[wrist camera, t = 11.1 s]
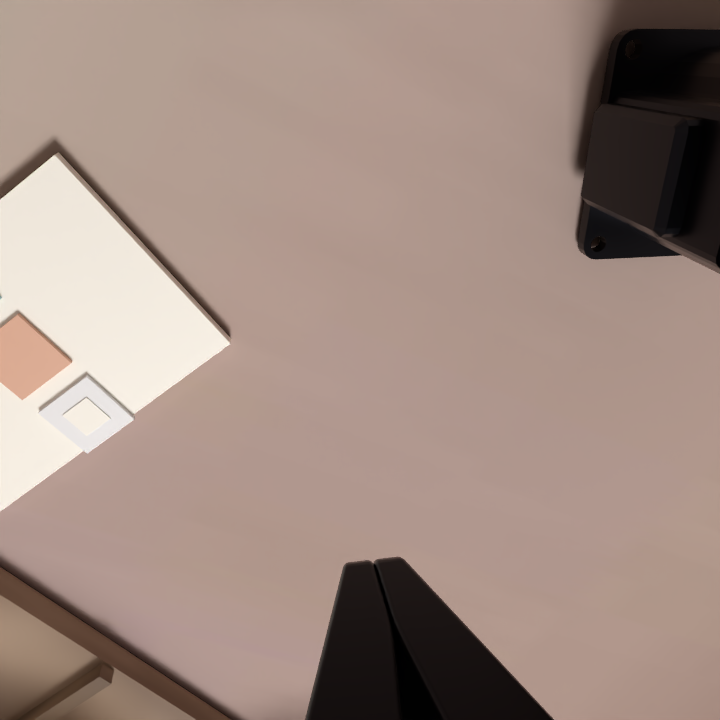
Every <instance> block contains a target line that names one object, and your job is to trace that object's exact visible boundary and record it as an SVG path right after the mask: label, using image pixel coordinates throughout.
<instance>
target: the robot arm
mask: <svg viewBox="0 0 720 720" xmlns="http://www.w3.org/2000/svg"><path fill="white" fill-rule="evenodd" d="M631 40H632V41H633V43H634V45H635V50H634V52H633V55H632V56H630V57H629V58H627V56H626V55H625V48H626V46H627V44H628V43H629V42H630V41H631ZM581 196H582V198H583V199H584V200H585V201H584V207H583V213H582V219H581V225H580V231H579V237H578V248H579V250H580V252H581V253H583V254H584V255H586V256H587V257H589V258H591V259H614V258H635V257H656V256H677V255H683V256H685V257H687V258H689V259H691V260H693V261H695V262H697V263H699V264H701V265H703V266H705V267H707V268H709V269H711V270H713V271H715V272H717V273H719V274H720V30H696V29H628V30H624V31H622V32H620V33H619V34H618V35H616V37H615V38H614V40H613V41H612V43H611V46H610V50H609V56H608V62H607V68H606V74H605V80H604V86H603V92H602V98H601V104H600V107H599V108H598V109H597V110H596V111H595V113H594V118H593V124H592V130H591V136H590V143H589V149H588V155H587V161H586V167H585V173H584V180H583V186H582V192H581ZM598 236H600V241H599V244H598V245H597V246H596V247H594V248H591V243H592V241H593V239H595V238H596V237H598ZM305 720H554V719H553V718H552V717H551V716H550V715H549V714H548V713H547V712H546V711H545V709H544V708H543V707H542V706H541V705H540V704H539V703H538V702H537V701H536V700H535V699H534V698H533V697H532V696H531V695H530V693H529V692H528V691H527V690H526V689H525V688H524V687H523V686H522V685H521V684H520V683H519V682H518V681H517V680H516V678H515V677H514V676H513V675H512V674H511V673H510V672H509V671H508V670H507V669H506V668H505V667H504V666H503V665H502V664H501V662H500V661H499V660H498V659H497V658H496V657H495V656H494V655H493V654H492V653H491V652H490V651H489V650H488V649H487V647H486V646H485V645H484V644H483V643H482V642H481V641H480V640H479V639H478V638H477V637H476V636H475V635H474V634H473V633H472V631H471V630H470V629H469V628H468V627H467V626H466V625H465V624H464V623H463V622H462V621H461V620H460V619H459V618H458V616H457V615H456V614H455V613H454V612H453V611H452V610H451V609H450V608H449V607H448V606H447V605H446V604H445V603H444V602H443V600H442V599H441V598H440V597H439V596H438V595H437V594H436V593H435V592H434V591H433V590H432V589H431V588H430V587H429V585H428V584H427V583H426V582H425V581H424V580H423V579H422V578H421V577H420V576H419V575H418V574H417V573H416V572H415V571H414V569H413V568H412V567H411V566H410V565H409V564H408V563H407V562H406V561H405V560H404V559H403V558H401V557H392V558H383V559H377V560H376V561H374V563H372V562H371V561H369V560H366V561H357V562H349V563H346V564H345V565H344V567H343V570H342V574H341V578H340V582H339V586H338V590H337V594H336V598H335V602H334V606H333V610H332V614H331V618H330V622H329V626H328V630H327V634H326V638H325V642H324V646H323V650H322V654H321V658H320V662H319V666H318V670H317V674H316V678H315V682H314V686H313V690H312V694H311V698H310V702H309V706H308V710H307V714H306V718H305Z"/></svg>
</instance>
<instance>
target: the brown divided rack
mask: <svg viewBox="0 0 720 720" xmlns="http://www.w3.org/2000/svg"><path fill="white" fill-rule="evenodd" d="M0 720H231V719H229V718H228V717H226V716H225V715H223V714H222V713H220V712H219V711H217V710H216V709H214V708H213V707H211V706H210V705H208V704H207V703H205V702H204V701H202V700H201V699H199V698H198V697H196V696H195V695H193V694H192V693H190V692H189V691H187V690H186V689H184V688H182V687H181V686H179V685H178V684H176V683H175V682H173V681H172V680H170V679H169V678H167V677H166V676H164V675H163V674H161V673H160V672H158V671H157V670H155V669H154V668H152V667H151V666H149V665H148V664H146V663H145V662H143V661H142V660H140V659H139V658H137V657H136V656H134V655H133V654H131V653H130V652H128V651H127V650H125V649H124V648H122V647H121V646H119V645H117V644H116V643H114V642H113V641H111V640H110V639H108V638H107V637H105V636H104V635H102V634H101V633H99V632H98V631H96V630H95V629H93V628H92V627H90V626H89V625H87V624H86V623H84V622H83V621H81V620H80V619H78V618H77V617H75V616H74V615H72V614H71V613H69V612H68V611H66V610H65V609H63V608H62V607H60V606H59V605H57V604H56V603H54V602H52V601H51V600H49V599H48V598H46V597H45V596H43V595H42V594H40V593H39V592H37V591H36V590H34V589H33V588H31V587H30V586H28V585H27V584H25V583H24V582H22V581H21V580H19V579H18V578H16V577H15V576H13V575H12V574H10V573H9V572H7V571H6V570H4V569H3V568H1V567H0Z"/></svg>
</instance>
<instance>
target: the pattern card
mask: <svg viewBox="0 0 720 720" xmlns="http://www.w3.org/2000/svg"><path fill="white" fill-rule="evenodd" d="M230 343H231V338H230V337H229V336H228V335H227V334H226V333H225V332H224V330H223V329H222V328H221V327H220V326H219V325H218V324H217V323H216V322H215V321H214V320H213V319H212V317H211V316H210V315H209V314H208V313H207V312H206V311H205V310H204V309H203V308H202V307H201V306H200V305H199V303H198V302H197V301H196V300H195V299H194V298H193V297H192V296H191V295H190V294H189V293H188V292H187V290H186V289H185V288H184V287H183V286H182V285H181V284H180V283H179V282H178V281H177V280H176V279H175V278H174V276H173V275H172V274H171V273H170V272H169V271H168V270H167V269H166V268H165V267H164V266H163V265H162V263H161V262H160V261H159V260H158V259H157V258H156V257H155V256H154V255H153V254H152V253H151V252H150V251H149V249H148V248H147V247H146V246H145V245H144V244H143V243H142V242H141V241H140V240H139V239H138V238H137V236H136V235H135V234H134V233H133V232H132V231H131V230H130V229H129V228H128V227H127V226H126V225H125V224H124V222H123V221H122V220H121V219H120V218H119V217H118V216H117V215H116V214H115V213H114V212H113V211H112V209H111V208H110V207H109V206H108V205H107V204H106V203H105V202H104V201H103V200H102V199H101V198H100V197H99V195H98V194H97V193H96V192H95V191H94V190H93V189H92V188H91V187H90V186H89V185H88V184H87V182H86V181H85V180H84V179H83V178H82V177H81V176H80V175H79V174H78V173H77V172H76V171H75V170H74V168H73V167H72V166H71V165H70V164H69V163H68V162H67V161H66V160H65V159H64V158H63V157H62V155H61V154H60V153H59V152H58V153H57V154H55V155H54V156H52V157H51V158H50V159H49V160H48V161H46V162H45V163H44V164H43V165H42V166H40V167H39V168H38V169H37V170H35V171H34V172H33V173H32V174H31V175H29V176H28V177H27V178H26V179H25V180H23V181H22V182H21V183H20V184H18V185H17V186H16V187H15V188H14V189H12V190H11V191H10V192H9V193H8V194H6V195H5V196H4V197H3V198H2V199H0V511H2V510H3V509H4V508H6V507H7V506H8V505H10V504H11V503H13V502H14V501H15V500H17V499H18V498H19V497H21V496H22V495H23V494H25V493H26V492H28V491H29V490H30V489H32V488H33V487H34V486H36V485H37V484H39V483H40V482H41V481H43V480H44V479H45V478H47V477H48V476H50V475H51V474H52V473H54V472H55V471H56V470H58V469H59V468H61V467H62V466H63V465H65V464H66V463H67V462H69V461H70V460H72V459H73V458H74V457H76V456H77V455H78V454H80V453H81V452H83V451H84V452H86V453H89V452H90V451H92V450H93V449H94V448H96V447H97V446H98V445H100V444H101V443H103V442H104V441H105V440H107V439H108V438H109V437H111V436H112V435H114V434H115V433H116V432H118V431H119V430H120V429H122V428H123V427H125V426H126V425H127V424H129V423H130V422H131V421H133V420H134V418H135V416H134V415H133V414H135V413H136V412H137V411H139V410H140V409H142V408H143V407H144V406H146V405H147V404H148V403H150V402H151V401H152V400H154V399H155V398H157V397H158V396H159V395H161V394H162V393H163V392H165V391H166V390H168V389H169V388H170V387H172V386H173V385H174V384H176V383H177V382H179V381H180V380H181V379H183V378H184V377H185V376H187V375H188V374H190V373H191V372H192V371H194V370H195V369H196V368H198V367H199V366H201V365H202V364H203V363H205V362H206V361H207V360H209V359H210V358H212V357H213V356H214V355H216V354H217V353H218V352H220V351H221V350H222V349H224V348H225V347H227V346H228V345H229V344H230Z"/></svg>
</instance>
